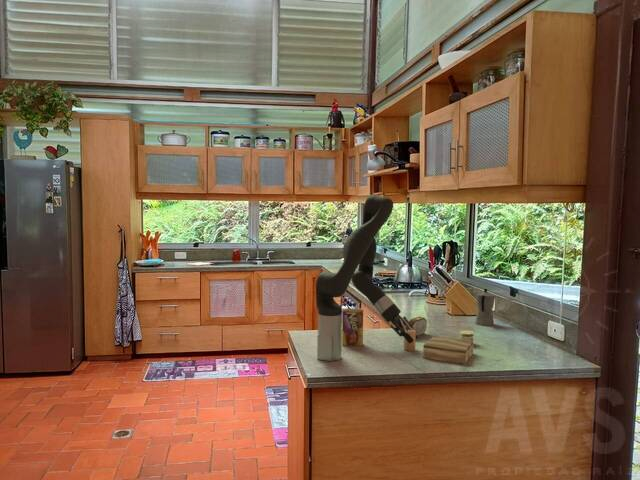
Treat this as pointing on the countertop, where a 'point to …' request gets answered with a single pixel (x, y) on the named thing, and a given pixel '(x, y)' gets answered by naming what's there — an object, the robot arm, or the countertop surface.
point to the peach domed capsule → (408, 345)
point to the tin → (419, 325)
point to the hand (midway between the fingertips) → (414, 340)
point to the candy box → (352, 326)
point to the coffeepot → (485, 308)
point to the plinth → (448, 349)
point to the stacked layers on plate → (466, 335)
